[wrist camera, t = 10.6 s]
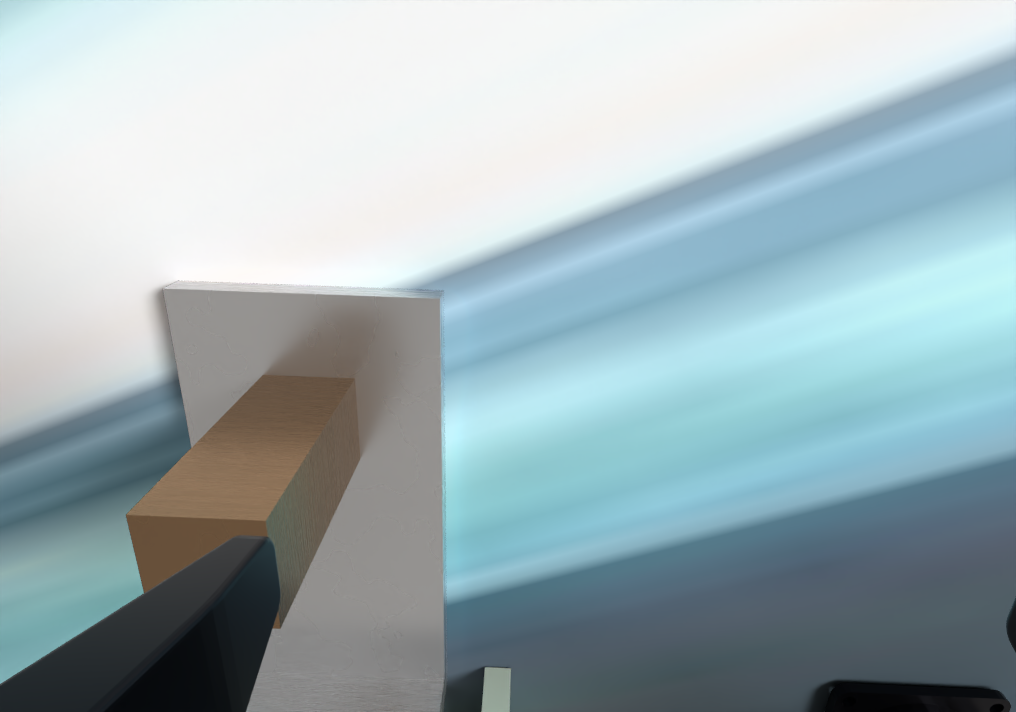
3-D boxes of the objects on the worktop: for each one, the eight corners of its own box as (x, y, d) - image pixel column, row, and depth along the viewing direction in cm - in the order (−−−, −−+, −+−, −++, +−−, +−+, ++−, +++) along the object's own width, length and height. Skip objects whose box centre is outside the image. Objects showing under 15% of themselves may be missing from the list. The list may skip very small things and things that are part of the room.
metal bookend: (180, 279, 19) (-42, 391, 12) (444, 289, 19) (391, 408, 11) (246, 671, 25) (127, 911, 18) (447, 680, 25) (413, 926, 17)
